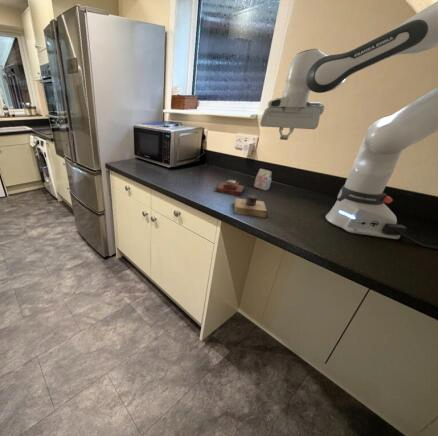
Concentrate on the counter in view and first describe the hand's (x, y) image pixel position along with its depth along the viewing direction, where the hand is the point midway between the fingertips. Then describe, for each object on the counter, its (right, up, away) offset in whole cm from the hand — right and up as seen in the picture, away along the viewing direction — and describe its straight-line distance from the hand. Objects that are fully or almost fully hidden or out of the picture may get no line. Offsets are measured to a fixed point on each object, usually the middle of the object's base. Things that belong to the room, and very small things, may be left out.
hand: (283, 139), depth 95 cm
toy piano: (-12, -18, +27) cm, 35 cm away
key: (-12, -15, +26) cm, 32 cm away
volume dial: (-11, -26, +5) cm, 29 cm away
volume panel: (-11, -29, +7) cm, 32 cm away
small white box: (+6, -16, +32) cm, 36 cm away
